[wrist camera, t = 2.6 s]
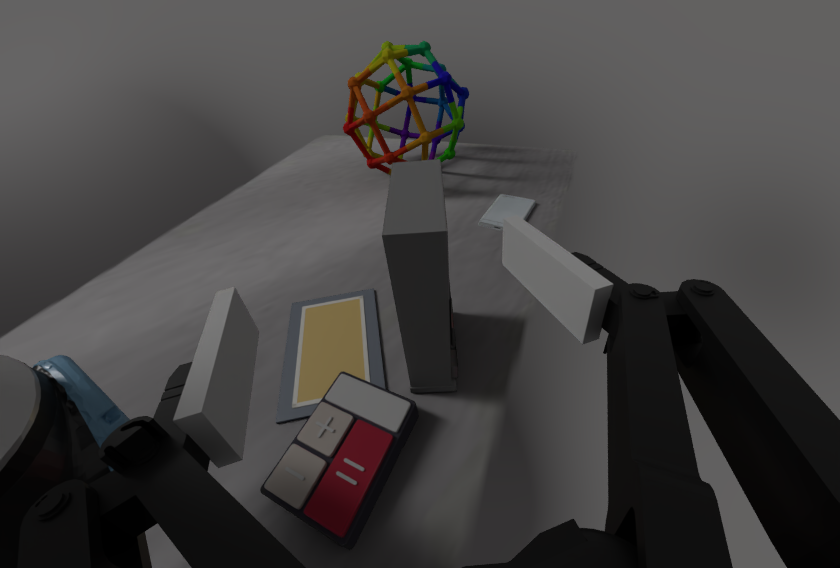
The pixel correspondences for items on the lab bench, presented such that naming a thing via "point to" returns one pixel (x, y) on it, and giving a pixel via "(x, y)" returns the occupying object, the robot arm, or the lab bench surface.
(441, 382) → the grey instrument box
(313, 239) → the lab bench surface
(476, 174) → the lab bench surface
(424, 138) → the geometric model
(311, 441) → the calculator
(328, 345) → the picture board
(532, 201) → the hard drive
